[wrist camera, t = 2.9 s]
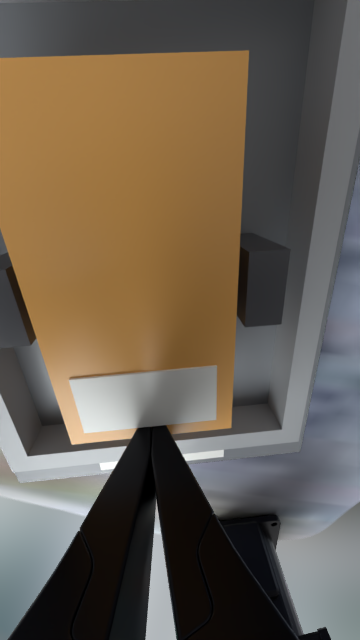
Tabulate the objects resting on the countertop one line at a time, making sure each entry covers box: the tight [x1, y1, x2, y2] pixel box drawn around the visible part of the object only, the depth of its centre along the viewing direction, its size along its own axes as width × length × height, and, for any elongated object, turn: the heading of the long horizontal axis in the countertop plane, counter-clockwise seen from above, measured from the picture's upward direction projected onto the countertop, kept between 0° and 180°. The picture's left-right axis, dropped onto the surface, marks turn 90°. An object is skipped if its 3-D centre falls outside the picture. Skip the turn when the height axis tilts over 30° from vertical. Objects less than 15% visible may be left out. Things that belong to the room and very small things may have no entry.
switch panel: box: [0, 0, 360, 483], centre depth 9 cm, size 20×14×6 cm
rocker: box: [0, 50, 249, 445], centre depth 7 cm, size 9×5×2 cm, turn 3°
